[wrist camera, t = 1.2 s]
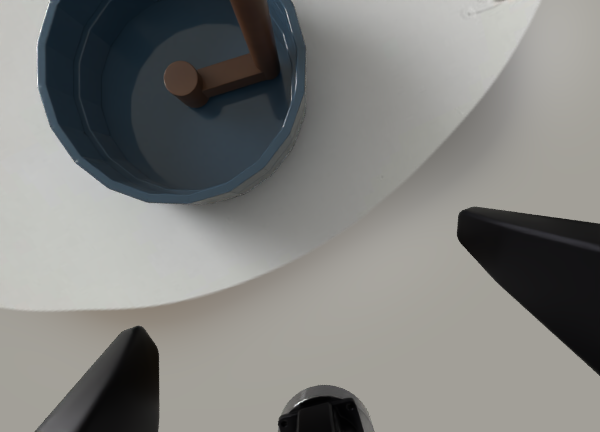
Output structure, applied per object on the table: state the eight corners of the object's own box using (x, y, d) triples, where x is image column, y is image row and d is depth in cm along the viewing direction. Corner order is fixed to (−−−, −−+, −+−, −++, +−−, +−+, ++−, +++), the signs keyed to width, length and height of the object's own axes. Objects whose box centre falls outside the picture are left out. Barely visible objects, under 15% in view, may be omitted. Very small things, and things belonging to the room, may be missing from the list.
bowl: (331, 169, 23) (338, 160, 18) (131, 228, 24) (84, 234, 19) (271, -44, 22) (260, -114, 18) (66, 23, 23) (0, -26, 18)
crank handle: (284, 81, 22) (265, -22, 12) (185, 112, 22) (83, 37, 12) (275, 50, 22) (248, -80, 12) (176, 81, 22) (66, -19, 12)
